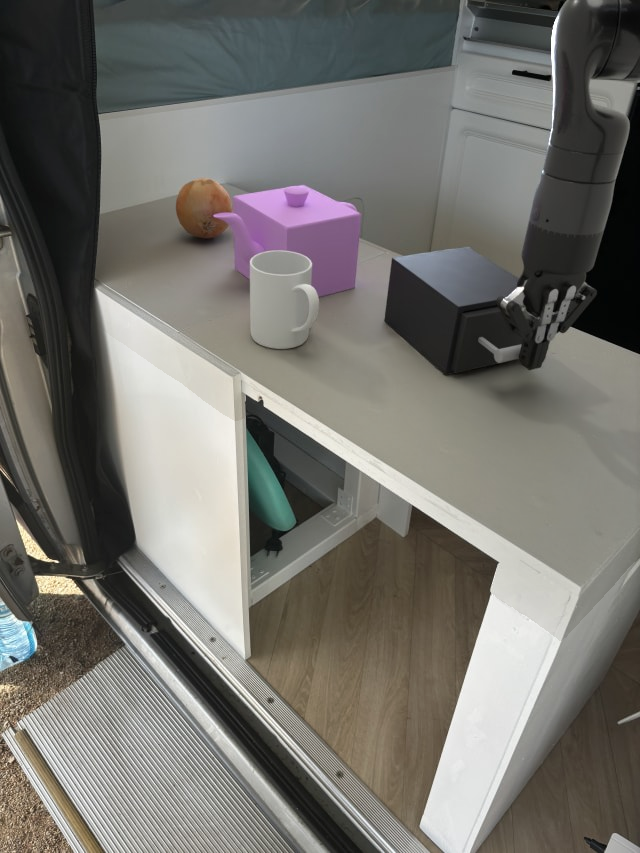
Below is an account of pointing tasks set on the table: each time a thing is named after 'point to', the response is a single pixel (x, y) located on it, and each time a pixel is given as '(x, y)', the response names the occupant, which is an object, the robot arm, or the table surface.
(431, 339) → the cabinet
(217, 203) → the onion
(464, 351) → the drawer
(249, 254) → the teapot
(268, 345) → the mug
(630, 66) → the robot arm
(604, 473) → the table surface
